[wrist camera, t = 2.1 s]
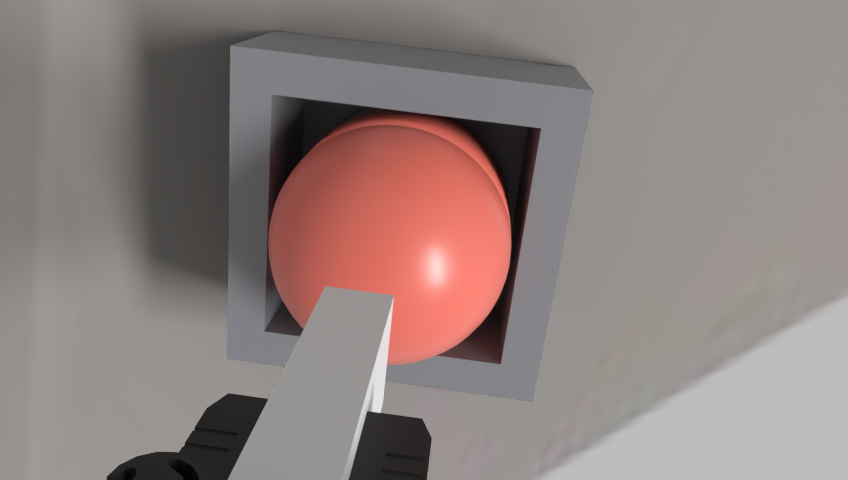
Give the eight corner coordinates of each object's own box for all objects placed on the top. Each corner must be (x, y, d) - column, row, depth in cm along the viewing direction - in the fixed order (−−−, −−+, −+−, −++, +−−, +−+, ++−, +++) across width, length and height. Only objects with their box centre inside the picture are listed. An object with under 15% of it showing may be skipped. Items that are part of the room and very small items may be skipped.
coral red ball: (306, 88, 23) (235, 139, 17) (523, 115, 23) (537, 177, 16) (297, 285, 26) (232, 394, 19) (492, 311, 26) (493, 432, 19)
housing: (275, 30, 24) (230, 45, 20) (574, 67, 24) (592, 90, 20) (266, 298, 28) (227, 358, 24) (525, 334, 27) (532, 401, 23)
